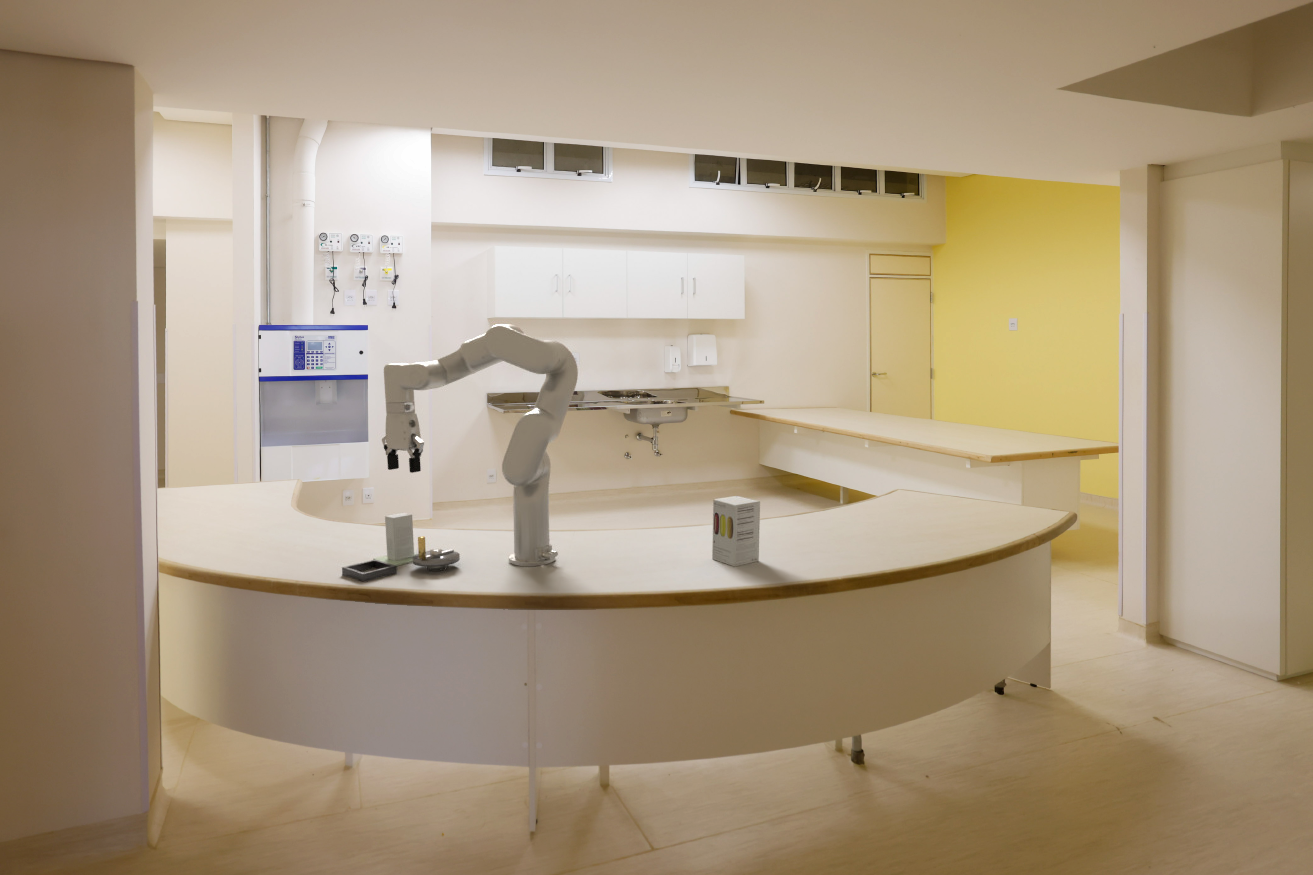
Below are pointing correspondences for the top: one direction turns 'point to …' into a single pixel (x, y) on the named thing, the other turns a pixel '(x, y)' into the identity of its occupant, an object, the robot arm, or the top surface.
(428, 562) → the handwheel
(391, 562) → the mat
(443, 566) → the wheel post
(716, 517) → the supplement box
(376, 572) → the dark grey square tray
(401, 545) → the skincare box
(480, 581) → the top surface
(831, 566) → the top surface
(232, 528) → the top surface
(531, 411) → the robot arm
